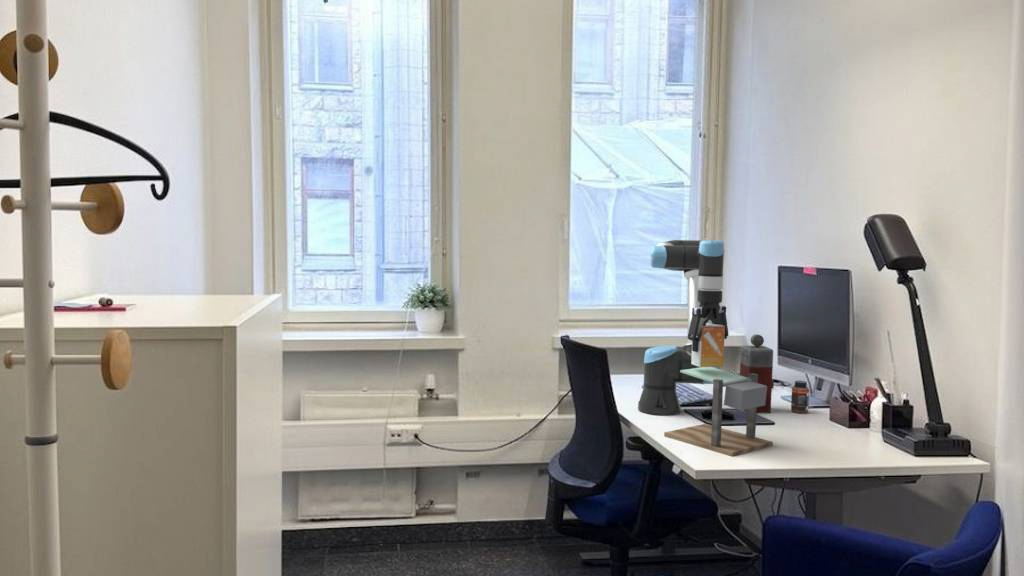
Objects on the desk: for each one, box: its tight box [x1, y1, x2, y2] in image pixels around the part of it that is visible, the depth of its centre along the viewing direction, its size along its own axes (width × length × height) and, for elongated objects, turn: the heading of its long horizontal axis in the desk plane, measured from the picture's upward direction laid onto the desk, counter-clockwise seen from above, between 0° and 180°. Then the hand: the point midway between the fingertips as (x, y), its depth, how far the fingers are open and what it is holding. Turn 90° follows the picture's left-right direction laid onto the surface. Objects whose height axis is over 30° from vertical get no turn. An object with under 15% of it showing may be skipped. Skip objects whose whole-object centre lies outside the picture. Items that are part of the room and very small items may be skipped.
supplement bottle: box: [790, 380, 810, 414], centre depth 279 cm, size 6×6×11 cm
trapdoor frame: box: [663, 373, 774, 457], centre depth 238 cm, size 20×26×21 cm
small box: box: [691, 324, 725, 368], centre depth 240 cm, size 8×6×13 cm
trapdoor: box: [680, 367, 767, 411], centre depth 236 cm, size 14×23×7 cm, turn 37°
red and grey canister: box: [739, 333, 774, 414], centre depth 281 cm, size 9×11×28 cm
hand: (707, 360), depth 241 cm, fingers closed on small box, 10 cm apart
